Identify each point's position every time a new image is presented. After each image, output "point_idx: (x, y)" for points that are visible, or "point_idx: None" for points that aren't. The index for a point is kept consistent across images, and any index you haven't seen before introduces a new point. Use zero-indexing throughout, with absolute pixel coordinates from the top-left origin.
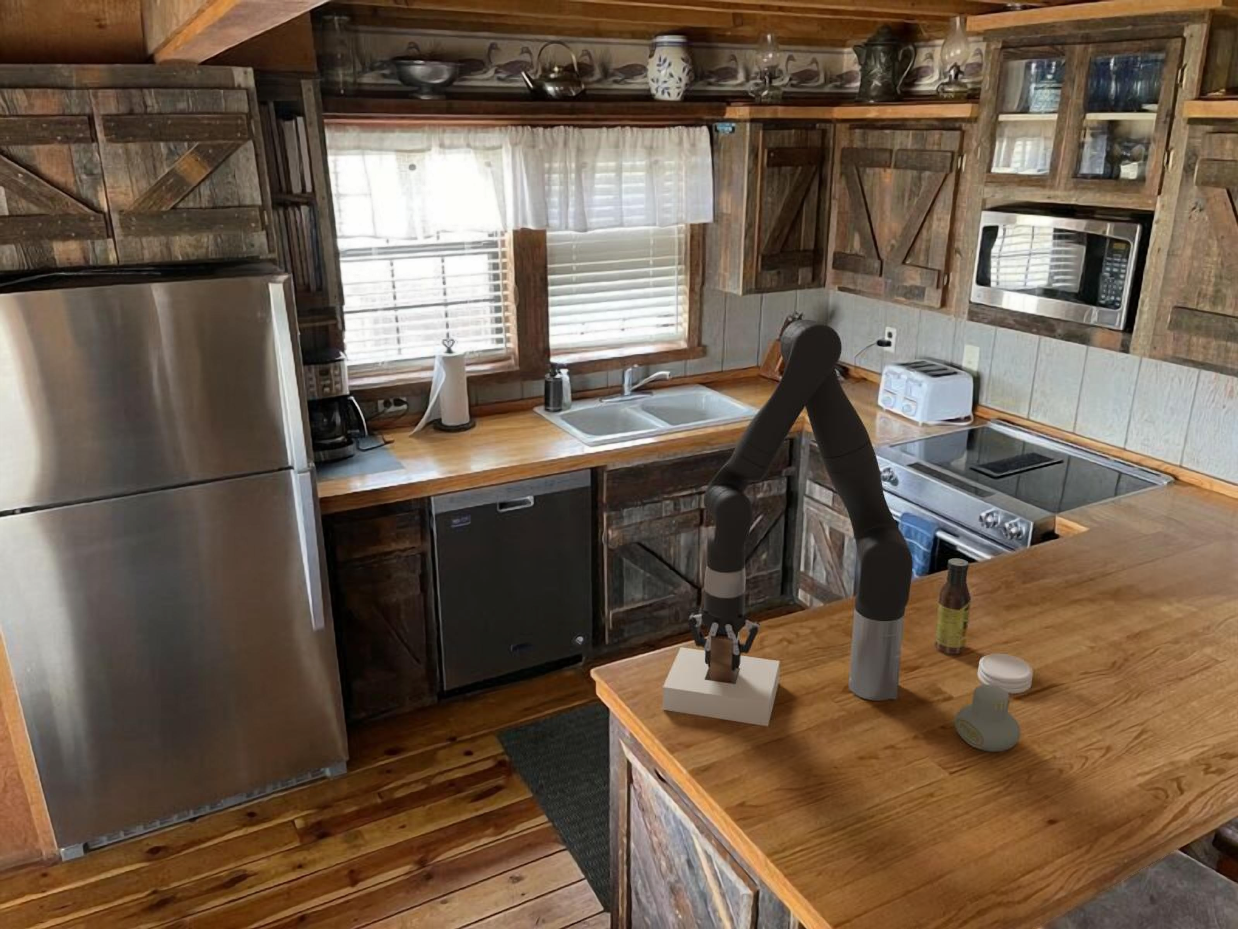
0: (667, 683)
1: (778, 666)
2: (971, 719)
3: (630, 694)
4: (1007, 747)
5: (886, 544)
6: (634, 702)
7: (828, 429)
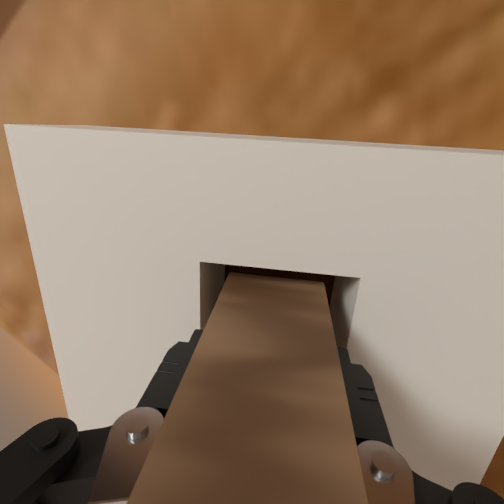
0: (77, 414)
1: None
2: None
3: (9, 309)
4: None
5: None
6: (37, 342)
7: None
